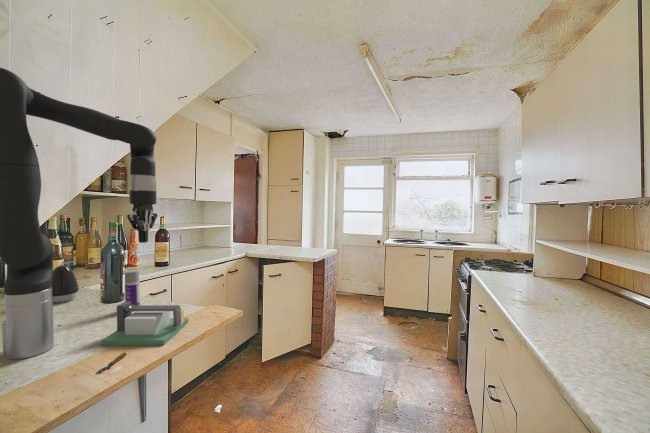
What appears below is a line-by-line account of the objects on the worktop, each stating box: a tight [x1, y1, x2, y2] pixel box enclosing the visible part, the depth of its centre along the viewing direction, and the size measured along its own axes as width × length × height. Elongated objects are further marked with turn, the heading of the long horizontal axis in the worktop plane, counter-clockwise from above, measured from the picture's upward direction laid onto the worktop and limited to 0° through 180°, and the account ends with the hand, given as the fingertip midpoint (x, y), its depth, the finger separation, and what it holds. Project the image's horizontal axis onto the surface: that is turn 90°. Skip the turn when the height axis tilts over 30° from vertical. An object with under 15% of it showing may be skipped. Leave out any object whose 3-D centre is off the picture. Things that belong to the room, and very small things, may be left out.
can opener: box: [95, 352, 127, 375], centre depth 75 cm, size 9×2×1 cm, turn 172°
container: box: [124, 269, 141, 306], centre depth 113 cm, size 5×5×15 cm
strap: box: [124, 304, 182, 327], centre depth 93 cm, size 16×4×6 cm, turn 92°
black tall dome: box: [52, 264, 80, 303], centre depth 122 cm, size 10×10×15 cm
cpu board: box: [101, 301, 189, 346], centre depth 93 cm, size 18×16×10 cm
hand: (143, 242), depth 96 cm, fingers closed
